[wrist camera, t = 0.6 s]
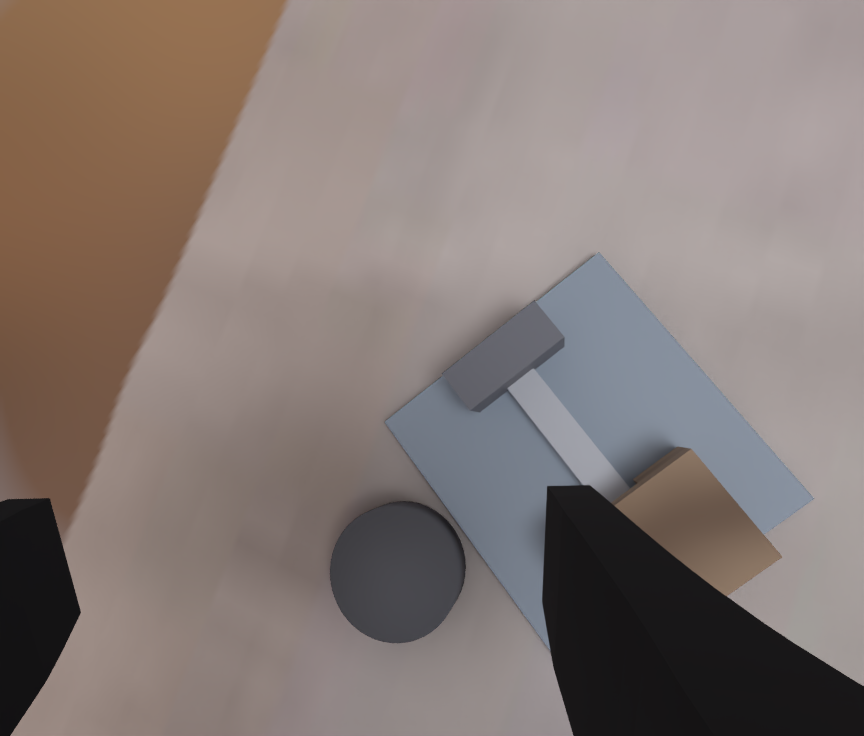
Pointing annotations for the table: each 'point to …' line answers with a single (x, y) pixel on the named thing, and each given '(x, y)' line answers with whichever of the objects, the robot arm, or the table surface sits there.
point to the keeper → (697, 521)
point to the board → (576, 424)
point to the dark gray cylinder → (397, 571)
